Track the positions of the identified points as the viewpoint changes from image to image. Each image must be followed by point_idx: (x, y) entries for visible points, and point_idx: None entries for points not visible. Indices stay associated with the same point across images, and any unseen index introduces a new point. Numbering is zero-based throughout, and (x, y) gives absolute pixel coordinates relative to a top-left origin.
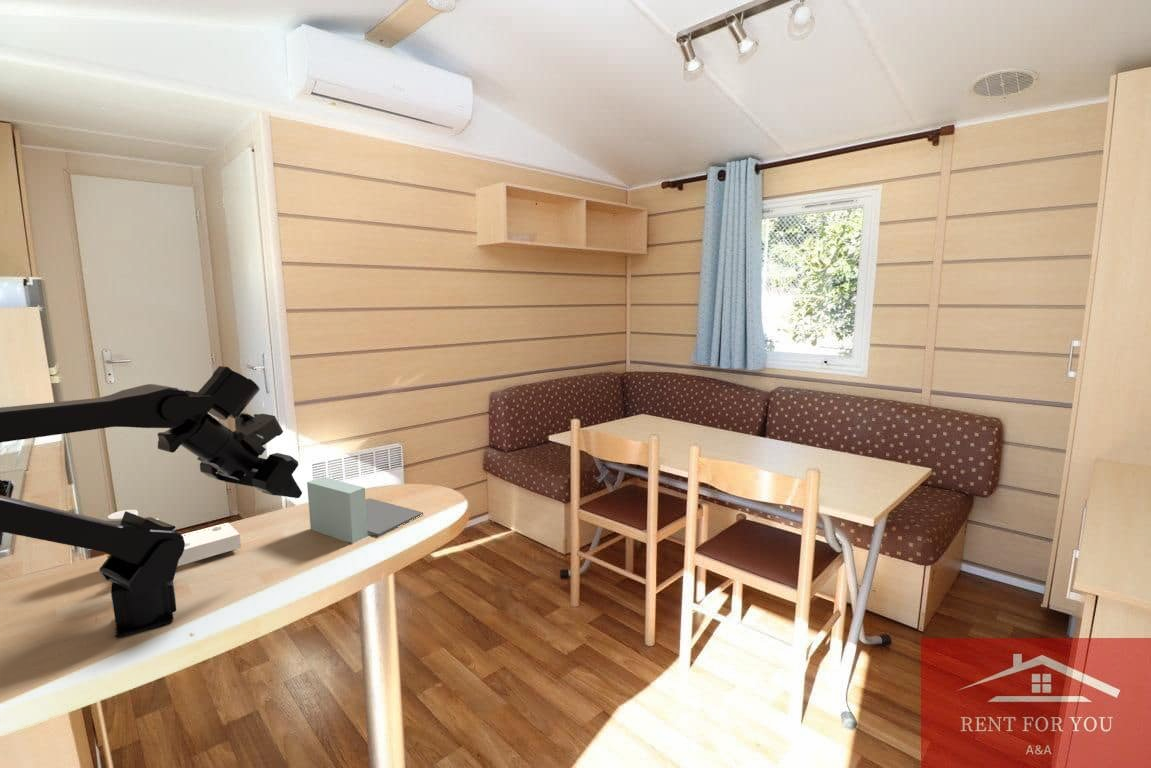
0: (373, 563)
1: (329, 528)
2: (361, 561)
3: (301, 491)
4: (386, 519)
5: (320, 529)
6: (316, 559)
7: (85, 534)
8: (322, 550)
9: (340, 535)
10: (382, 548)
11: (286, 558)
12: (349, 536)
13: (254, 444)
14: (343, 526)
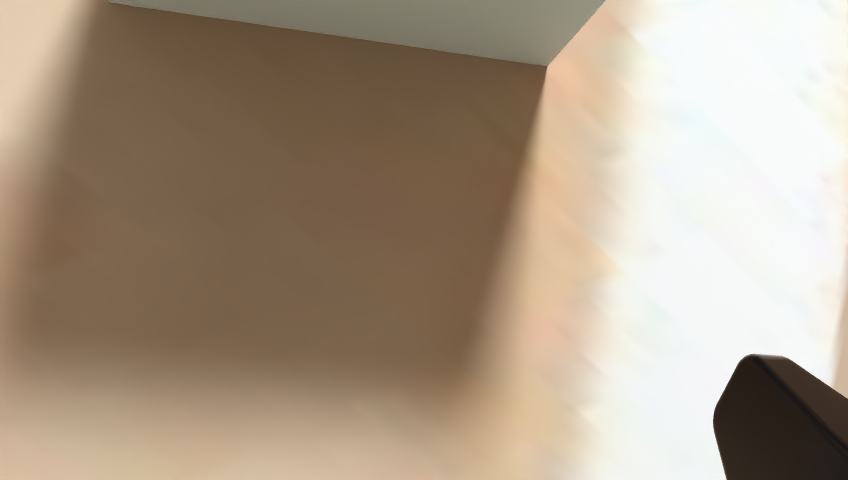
0: (838, 217)
1: (329, 7)
2: (765, 226)
3: (811, 375)
4: None
5: (223, 6)
6: (514, 320)
7: None
8: (448, 211)
9: (441, 37)
10: (747, 52)
11: (323, 397)
12: (534, 43)
13: None
14: (497, 7)
